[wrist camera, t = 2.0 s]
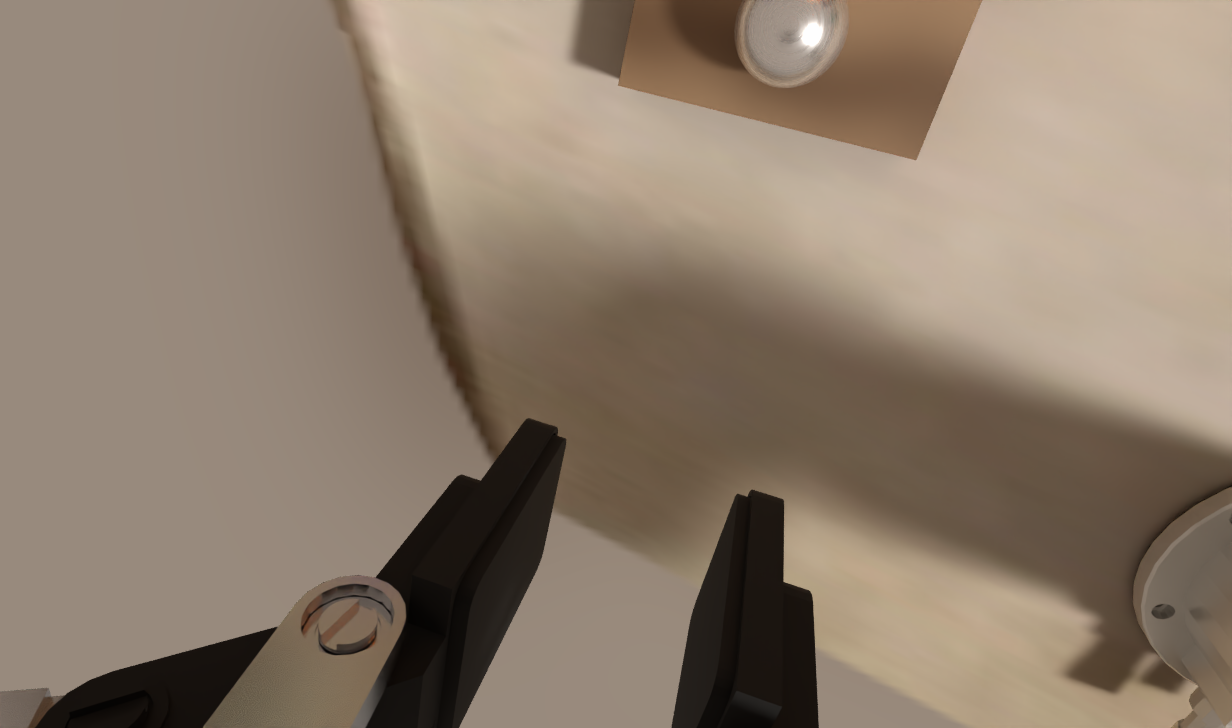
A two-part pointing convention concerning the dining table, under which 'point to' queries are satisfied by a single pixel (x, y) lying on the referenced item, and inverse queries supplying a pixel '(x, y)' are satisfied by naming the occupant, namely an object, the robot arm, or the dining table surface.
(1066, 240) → the dining table surface
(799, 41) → the ball
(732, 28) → the board
